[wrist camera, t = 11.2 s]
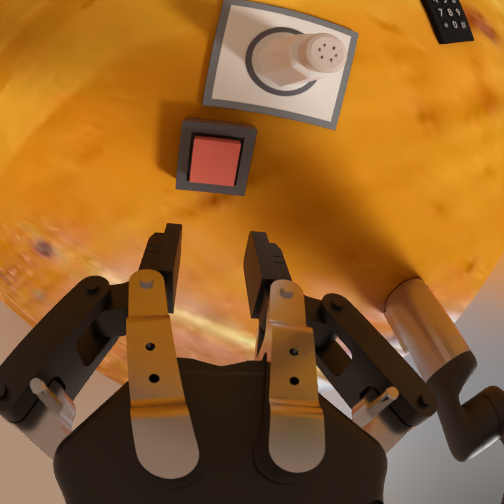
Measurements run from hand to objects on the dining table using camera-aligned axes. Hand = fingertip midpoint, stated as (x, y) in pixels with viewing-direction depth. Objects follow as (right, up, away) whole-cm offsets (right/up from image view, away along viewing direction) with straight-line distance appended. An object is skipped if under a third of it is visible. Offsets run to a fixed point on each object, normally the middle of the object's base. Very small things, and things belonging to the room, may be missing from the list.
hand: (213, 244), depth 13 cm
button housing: (-2, +10, +14) cm, 17 cm away
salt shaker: (+5, +18, +8) cm, 20 cm away
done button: (-2, +9, +12) cm, 15 cm away
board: (+5, +18, +9) cm, 21 cm away
